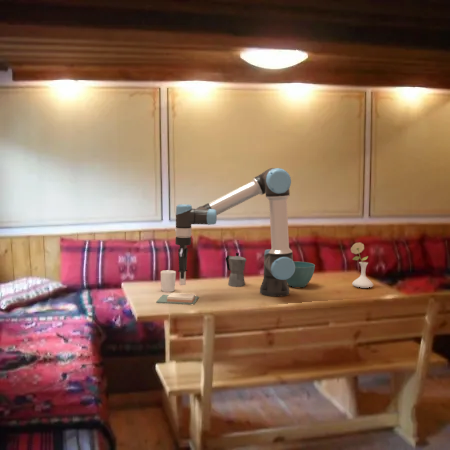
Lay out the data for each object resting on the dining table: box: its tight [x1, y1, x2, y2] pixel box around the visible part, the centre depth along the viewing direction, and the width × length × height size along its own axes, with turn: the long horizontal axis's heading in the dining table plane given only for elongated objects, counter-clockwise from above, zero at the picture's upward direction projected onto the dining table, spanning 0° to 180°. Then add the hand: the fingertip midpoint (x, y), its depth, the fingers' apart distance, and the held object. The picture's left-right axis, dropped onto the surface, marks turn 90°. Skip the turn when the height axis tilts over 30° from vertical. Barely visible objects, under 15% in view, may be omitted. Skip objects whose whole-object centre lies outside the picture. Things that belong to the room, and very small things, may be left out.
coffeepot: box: [225, 252, 247, 288], centre depth 328 cm, size 15×9×18 cm, turn 44°
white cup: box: [160, 269, 177, 293], centre depth 310 cm, size 8×8×10 cm
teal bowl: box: [286, 261, 316, 288], centre depth 329 cm, size 18×18×12 cm
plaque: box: [167, 292, 196, 303], centre depth 288 cm, size 12×2×9 cm
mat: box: [156, 294, 199, 305], centre depth 290 cm, size 18×15×1 cm
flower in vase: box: [350, 242, 374, 289], centre depth 330 cm, size 13×11×25 cm
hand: (182, 284), depth 290 cm, fingers closed
